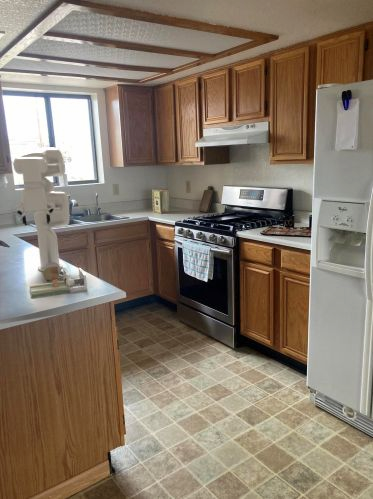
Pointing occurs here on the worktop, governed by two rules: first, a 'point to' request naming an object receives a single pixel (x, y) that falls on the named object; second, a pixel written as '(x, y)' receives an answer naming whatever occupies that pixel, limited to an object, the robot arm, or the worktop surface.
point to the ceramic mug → (47, 271)
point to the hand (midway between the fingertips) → (36, 224)
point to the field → (48, 289)
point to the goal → (76, 281)
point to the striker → (54, 275)
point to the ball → (71, 283)
